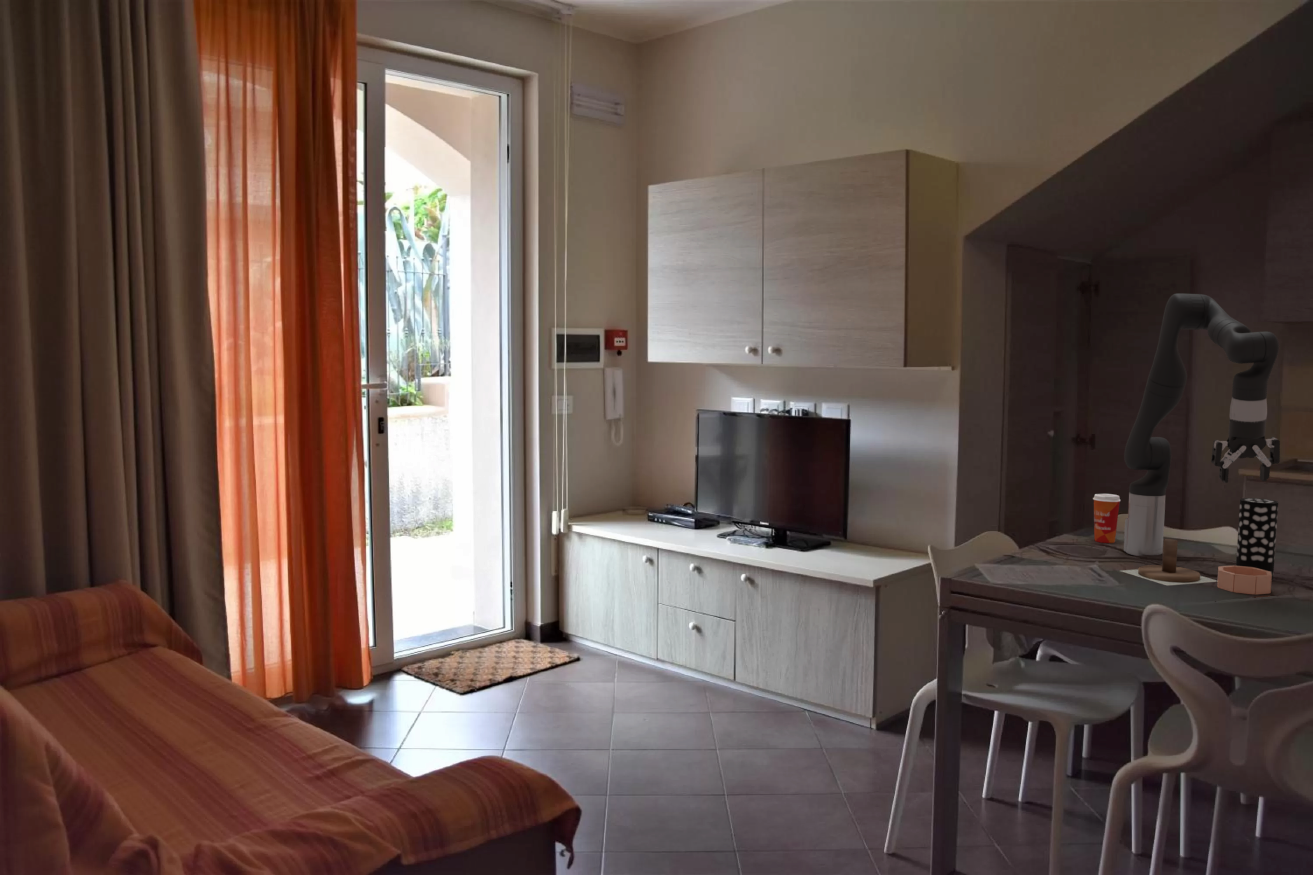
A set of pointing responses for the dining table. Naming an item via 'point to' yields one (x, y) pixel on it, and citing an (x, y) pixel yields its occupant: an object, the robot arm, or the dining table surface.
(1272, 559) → the spotted tube
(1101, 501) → the paper cup
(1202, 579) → the rubber mat
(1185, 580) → the walnut lid
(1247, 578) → the terracotta bowl
